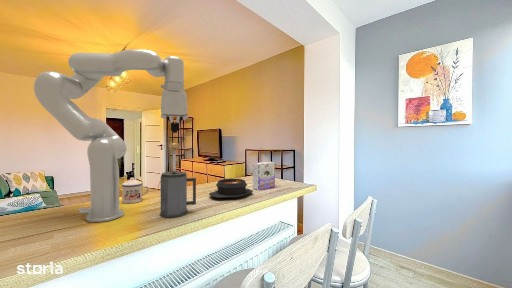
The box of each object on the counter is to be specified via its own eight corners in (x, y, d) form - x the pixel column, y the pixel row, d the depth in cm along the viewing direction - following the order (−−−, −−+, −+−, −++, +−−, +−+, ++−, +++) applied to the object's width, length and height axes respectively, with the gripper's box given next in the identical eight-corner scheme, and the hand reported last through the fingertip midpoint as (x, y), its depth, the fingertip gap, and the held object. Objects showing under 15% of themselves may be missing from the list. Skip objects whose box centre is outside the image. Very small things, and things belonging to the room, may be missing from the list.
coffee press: (158, 218, 89) (158, 175, 88) (162, 210, 99) (162, 171, 99) (195, 216, 93) (196, 174, 92) (195, 207, 103) (195, 170, 102)
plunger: (163, 194, 91) (163, 143, 90) (165, 190, 98) (165, 142, 97) (183, 193, 93) (183, 143, 92) (184, 189, 100) (184, 143, 99)
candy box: (269, 186, 151) (269, 161, 151) (275, 187, 147) (275, 162, 146) (252, 188, 143) (252, 162, 142) (258, 190, 138) (258, 163, 137)
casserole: (241, 189, 140) (241, 176, 140) (259, 196, 125) (260, 181, 125) (203, 195, 125) (203, 180, 125) (219, 203, 110) (219, 186, 110)
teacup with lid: (122, 205, 106) (121, 180, 106) (121, 200, 114) (121, 177, 114) (150, 201, 113) (150, 178, 112) (147, 197, 120) (147, 175, 120)
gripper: (153, 85, 88) (153, 132, 89) (193, 87, 92) (193, 132, 93) (156, 89, 96) (156, 132, 96) (193, 91, 100) (193, 133, 100)
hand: (174, 132), depth 95 cm, fingers closed
